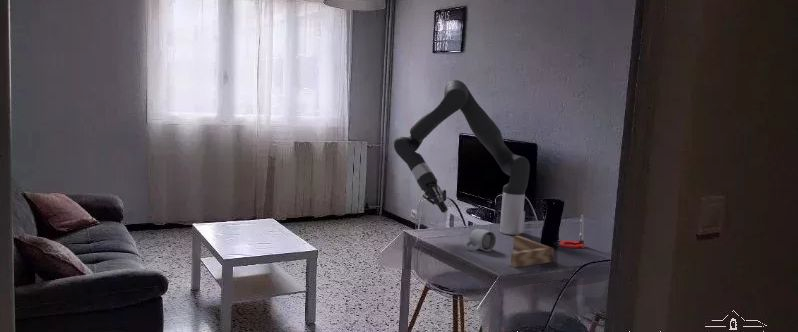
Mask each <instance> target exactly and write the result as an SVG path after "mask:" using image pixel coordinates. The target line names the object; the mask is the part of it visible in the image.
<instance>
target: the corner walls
mask: <svg viewBox="0 0 798 332" xmlns="http://www.w3.org/2000/svg"><path fill="white" fill-rule="evenodd" d="M512 249H513V250H516V251H511V252H510V255H511V256H510V267H512V268H514V267H515V268H520V267H526V266H534V265H541V264H548V263H553V262H554V254H555V248H554V247H551V246H548V245H547V244H546V245H545V244H543V243H540V242H538V241H534V240H532V239H529V238H526V237H523V236H521V235H513V242H512Z"/></svg>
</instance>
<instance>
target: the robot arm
mask: <svg viewBox="0 0 798 332" xmlns="http://www.w3.org/2000/svg"><path fill="white" fill-rule="evenodd" d="M459 110H460V112H462V114H463V116H464V117H465V120H466V123H467V124H468V126H469V128H470V130H471V131H472V133H473V134H474V136H475V137H476V139H477V140H478V141H479V142H480V143H481V144H482V145H483V146H484V147H485V149H486V150H487V151H488V152H489V153H490V154H491V156H493V158H494V160H495V161H496V163H497V164H498V166H499V168H500V169H501V170H502V172H503V173H504V174H505V175H507V176H509V182H508V183H507V184H505V185H503V187H502V199H501V210H500V223H499V224H500V225H499V232H500V233H502V234H505V235H513V236H520V235H521V234H523V233H524V229H525V218H526V217H525V216H526V211H525V210H524V207H525V197H526V190H527V188H528V184H529V178H530V172H531V171H530V170H531V169H530V168H531V167H530V166H531V165H530V162H529V160H528V159H527V158H526V157H525V156H521V155H518V154H515V153H513V152H512V151H511V150H510V148H509V147H508V146H507V145H506V144H505V142H504V139H503V135H502V132H501V130H500V128H499V127H498V125H497V124H496V123H495V122H494V121H493V119H492V118H491V117H490V116H489V115H488V114H487V112H486V111H485V110H484V109H483V107H481V106H480V105H479V103H478V102H477V101H476V99H475V98H474V96H473V94H472V93H471V91H470V90H469V88H468V86H467V85H466V84H465V83H464V82H463V81H461V80H459V79H452V80H450V81H448V82H447V84H446V85H445V88H444V96H443V98H442V100H441V102H440V103H439V104H438V105H437V106H436V107H435V108H434V109H433V110H431V111H429V112H428V113H426V114H425V115H423V116H422V117H420V118H419V119H418V120H417V121H416V122H415V124H414V125H412V126H411V128H410V129H409V134H410V135H409V136H407V137H406V136H399V137H395V140H394V142H393V148H394V151H395V153H396V155H398V157H400V159H402V161H403V162H404V163H405V164H406V165H407V167H408V169H409V170H410V172H411V174H412V176H413V178H414V179H415V181H416V183H417V185H418V186H419V188H420V190H421V191H423V192H424V193H423V194H422V198H424V199H425V200H426V201H428V202H429V203H430V204H431V205H433V206H434V205H436V206H437V207H438V209H439V210H440V212H441V213H443V214H444V213H446V212H448V210H449V209H448V206H447V205H446V204H445V201H447V190H446V189H443V190H442V189H441V187H440V186H439V184H438V179H437V177H436V176H435V174H434V172H433V171H432V169H431V167H430V166H429V165H428V164H427V162H426V161H425V159H424V158H423V155H421V153H420V152H419V153H418V152H417V150H418V149H419V148H420V146H421V145H422V143H423V141H424V139H426V138H427V137H428V136H429V135H430V134H431V133H432V132H433V131H434V130H435V129H436V128H437V127H438V126H439V125H440V124H442V123H443V122H444V121H445V120H446V119H448V118H449V117H451V116H452V115H453V114H455V113H456V112H458V111H459Z"/></svg>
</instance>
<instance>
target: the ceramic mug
mask: <svg viewBox="0 0 798 332" xmlns="http://www.w3.org/2000/svg"><path fill="white" fill-rule="evenodd" d="M468 240H469V241H468V242H466V243H465V248H466V250H467V251H469V252H473V251H477V250H481V251H483V252H490V251H493V249H494V248H495V246H496V244H497V235H496V234H495V233H494V232H493V231H491V230H488V229H482V228H475V229H473V230H472V231H471V232H470V234H469V237H468Z"/></svg>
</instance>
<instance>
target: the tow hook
mask: <svg viewBox="0 0 798 332" xmlns="http://www.w3.org/2000/svg"><path fill="white" fill-rule="evenodd" d="M584 222H585V220H584V214H581V218H580V226H579V227H580V228H579V234H578V236H579V237H578V241H574V240H562V241H560V242H559V246H560V247H562V248H563V247H564V248H570V249H576V248H577V249H579V248H582V249H584V248H585V247H586V246H585V243H584V242H585V241H584Z"/></svg>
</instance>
